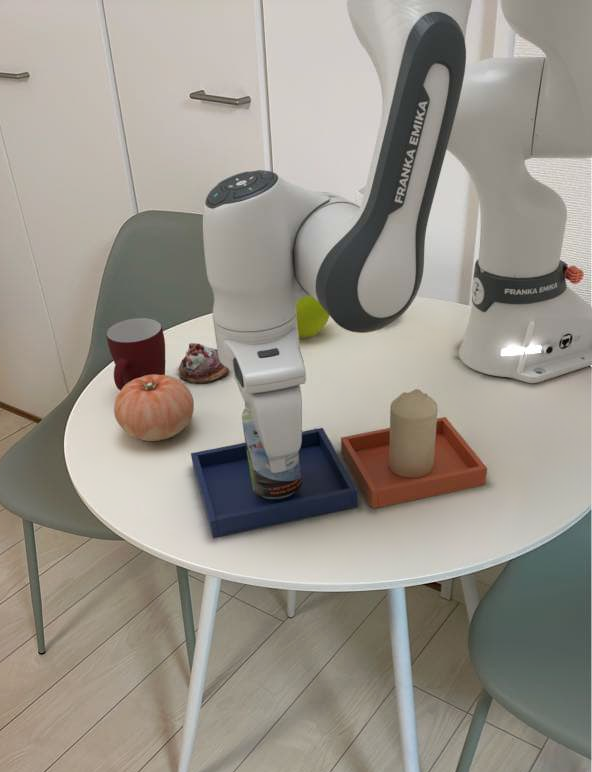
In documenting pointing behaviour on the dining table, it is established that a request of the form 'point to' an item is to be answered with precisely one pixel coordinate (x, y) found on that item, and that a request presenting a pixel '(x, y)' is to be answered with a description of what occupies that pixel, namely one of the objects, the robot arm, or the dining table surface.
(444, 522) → the dining table surface
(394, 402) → the candle
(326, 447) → the navy tray
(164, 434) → the orange pumpkin
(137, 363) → the mug
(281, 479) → the beverage can
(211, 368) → the pastry
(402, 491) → the terracotta tray
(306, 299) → the fruit
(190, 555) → the dining table surface
